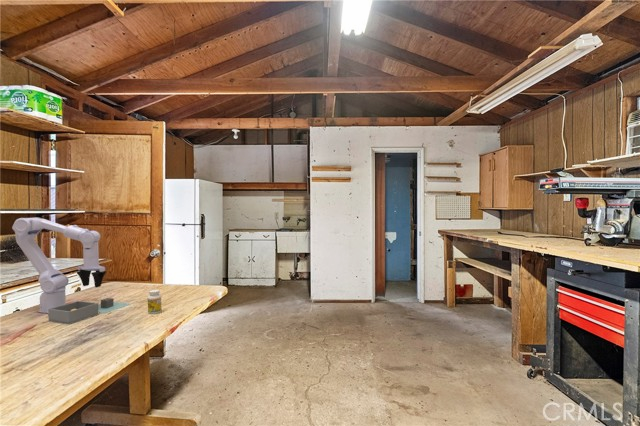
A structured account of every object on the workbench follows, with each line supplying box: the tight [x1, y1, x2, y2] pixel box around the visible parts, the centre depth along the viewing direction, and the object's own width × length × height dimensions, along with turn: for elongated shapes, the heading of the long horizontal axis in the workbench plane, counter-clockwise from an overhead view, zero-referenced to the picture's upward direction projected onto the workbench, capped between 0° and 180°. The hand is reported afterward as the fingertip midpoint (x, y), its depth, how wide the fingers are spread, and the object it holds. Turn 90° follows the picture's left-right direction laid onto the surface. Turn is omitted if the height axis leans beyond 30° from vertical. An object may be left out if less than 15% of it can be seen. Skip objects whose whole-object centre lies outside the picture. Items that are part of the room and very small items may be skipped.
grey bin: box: [47, 300, 99, 325], centre depth 132 cm, size 12×12×5 cm
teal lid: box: [98, 297, 131, 314], centre depth 146 cm, size 14×14×4 cm
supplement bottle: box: [147, 289, 162, 315], centre depth 139 cm, size 5×5×10 cm
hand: (92, 286), depth 144 cm, fingers open, 7 cm apart
